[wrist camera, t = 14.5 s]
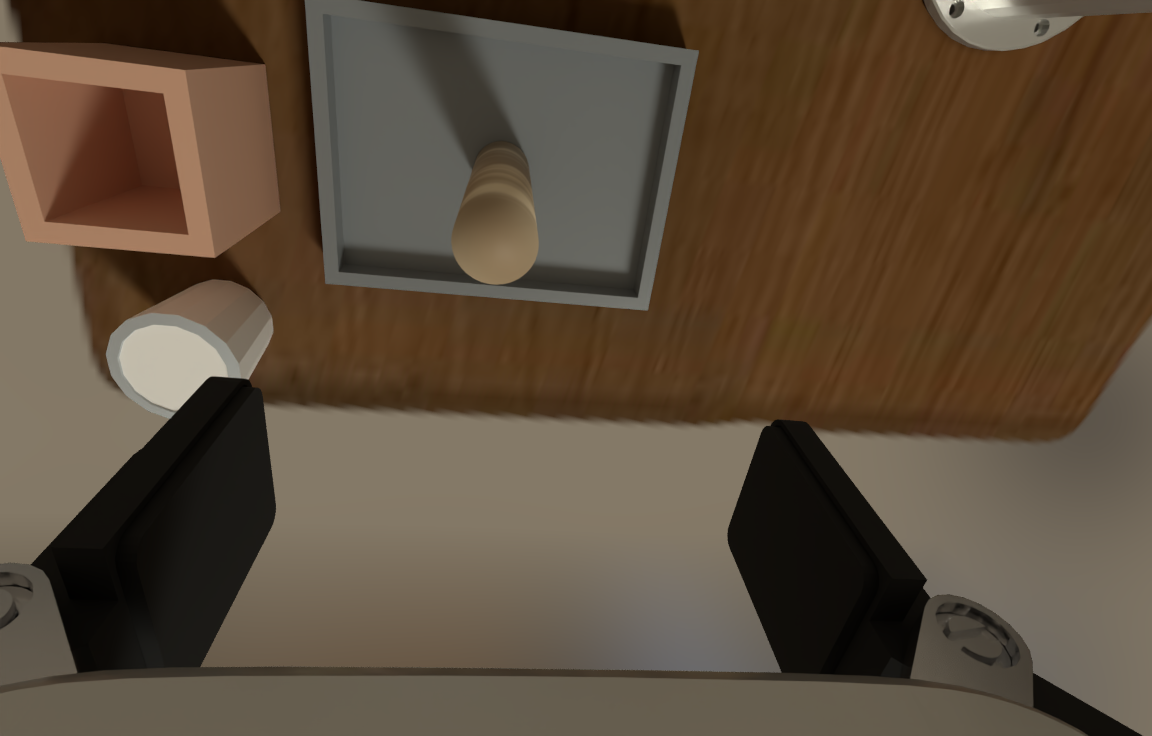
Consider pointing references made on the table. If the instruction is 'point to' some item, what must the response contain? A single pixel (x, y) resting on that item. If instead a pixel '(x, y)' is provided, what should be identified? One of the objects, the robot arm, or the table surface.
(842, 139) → the table surface
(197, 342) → the cream short cylinder
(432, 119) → the tray
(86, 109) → the holder
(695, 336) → the table surface
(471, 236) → the dowel
